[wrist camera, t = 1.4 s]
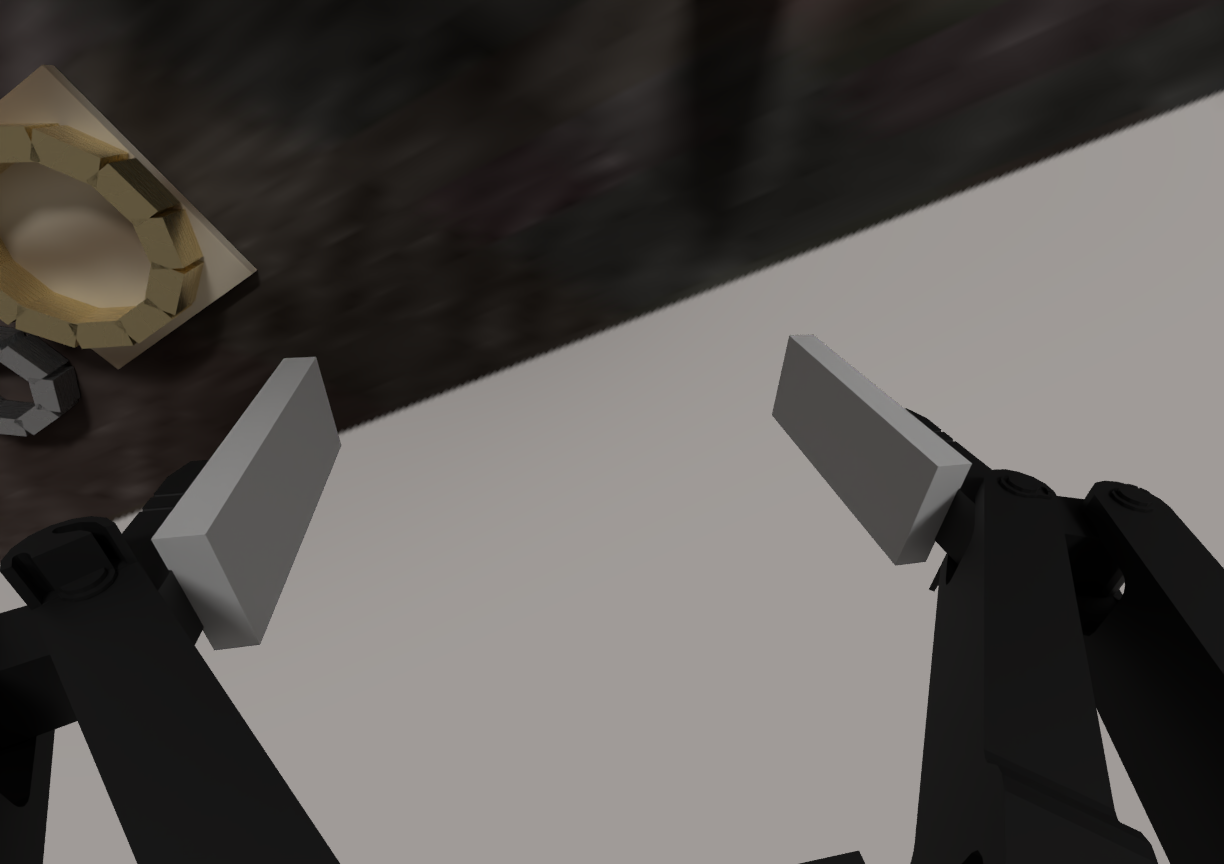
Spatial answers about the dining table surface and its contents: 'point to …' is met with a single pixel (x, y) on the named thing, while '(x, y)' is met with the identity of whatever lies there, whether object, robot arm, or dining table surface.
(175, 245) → the brass collar
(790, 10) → the dining table surface
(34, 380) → the grey collar
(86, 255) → the oak plate
